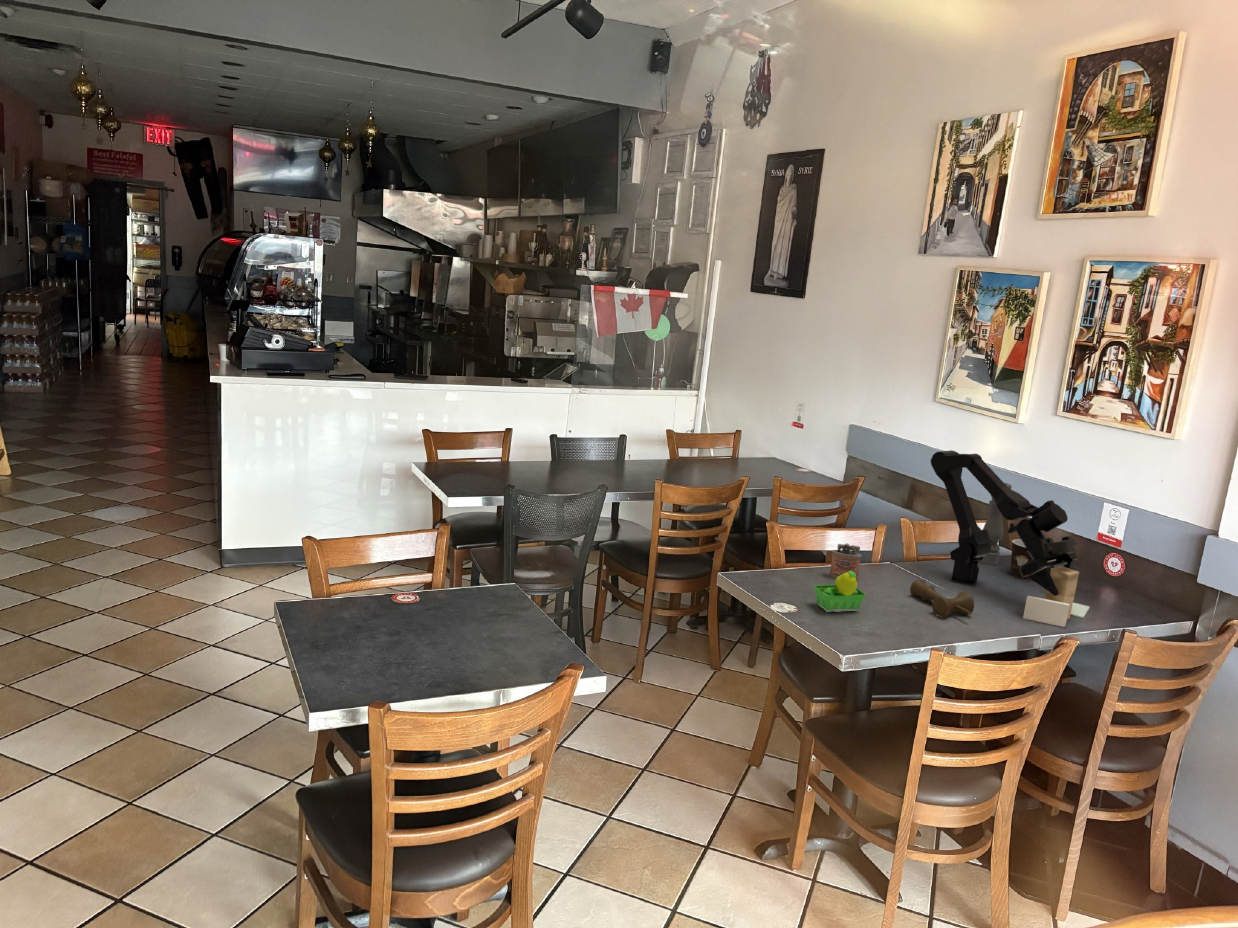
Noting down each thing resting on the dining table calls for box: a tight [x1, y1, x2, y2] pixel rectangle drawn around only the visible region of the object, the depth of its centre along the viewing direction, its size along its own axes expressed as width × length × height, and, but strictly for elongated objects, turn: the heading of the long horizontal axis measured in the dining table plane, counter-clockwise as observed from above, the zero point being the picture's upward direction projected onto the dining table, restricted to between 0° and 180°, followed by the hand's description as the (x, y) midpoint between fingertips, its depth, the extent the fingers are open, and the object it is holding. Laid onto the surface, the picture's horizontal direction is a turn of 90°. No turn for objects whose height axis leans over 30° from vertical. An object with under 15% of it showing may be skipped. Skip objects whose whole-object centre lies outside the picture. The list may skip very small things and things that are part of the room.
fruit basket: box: [813, 571, 866, 610], centre depth 228 cm, size 11×9×11 cm
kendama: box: [909, 579, 975, 618], centre depth 235 cm, size 6×10×20 cm
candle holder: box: [978, 482, 1012, 566], centre depth 276 cm, size 6×6×25 cm
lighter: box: [828, 543, 863, 582], centre depth 252 cm, size 8×3×10 cm, turn 73°
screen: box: [1022, 595, 1070, 628], centre depth 232 cm, size 10×1×6 cm, turn 67°
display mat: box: [1070, 602, 1091, 619], centre depth 244 cm, size 10×10×1 cm
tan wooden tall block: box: [1044, 566, 1080, 620], centre depth 236 cm, size 5×5×13 cm
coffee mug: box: [1009, 538, 1033, 580], centre depth 266 cm, size 12×9×10 cm
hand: (1065, 592), depth 235 cm, fingers open, 8 cm apart
